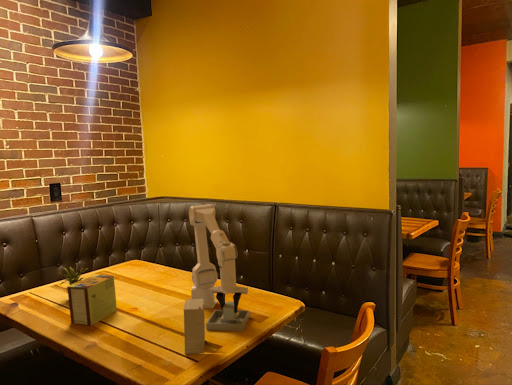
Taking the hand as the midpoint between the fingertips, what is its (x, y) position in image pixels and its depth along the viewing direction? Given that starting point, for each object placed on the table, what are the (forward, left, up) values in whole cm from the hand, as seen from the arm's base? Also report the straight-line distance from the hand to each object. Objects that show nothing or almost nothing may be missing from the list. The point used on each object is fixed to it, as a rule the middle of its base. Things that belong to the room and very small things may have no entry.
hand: (230, 311), depth 141 cm
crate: (-1, +1, -5) cm, 6 cm away
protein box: (-59, +4, -6) cm, 59 cm away
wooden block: (0, 0, -5) cm, 5 cm away
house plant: (-81, +21, -6) cm, 84 cm away
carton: (0, 0, -1) cm, 1 cm away
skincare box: (-8, -17, -6) cm, 20 cm away
